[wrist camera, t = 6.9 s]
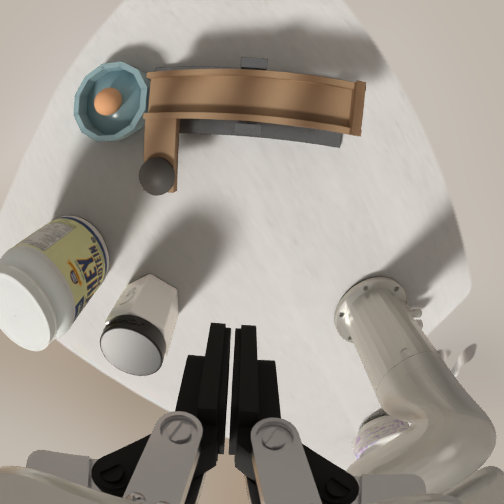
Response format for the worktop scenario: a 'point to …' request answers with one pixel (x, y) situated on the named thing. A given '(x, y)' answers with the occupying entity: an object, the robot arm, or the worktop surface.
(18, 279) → the supplement tub
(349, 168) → the worktop surface
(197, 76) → the lever
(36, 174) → the worktop surface
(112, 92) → the ball
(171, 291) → the jar
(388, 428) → the paper bowls
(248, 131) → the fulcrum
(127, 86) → the dish
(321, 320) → the worktop surface
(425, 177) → the worktop surface
